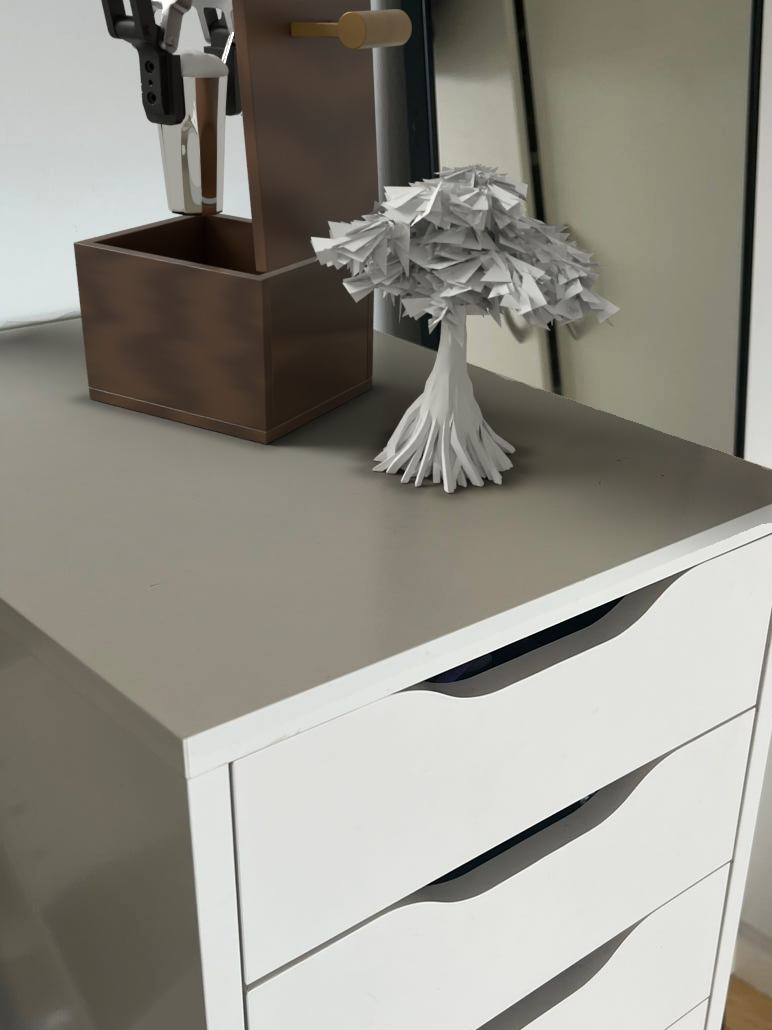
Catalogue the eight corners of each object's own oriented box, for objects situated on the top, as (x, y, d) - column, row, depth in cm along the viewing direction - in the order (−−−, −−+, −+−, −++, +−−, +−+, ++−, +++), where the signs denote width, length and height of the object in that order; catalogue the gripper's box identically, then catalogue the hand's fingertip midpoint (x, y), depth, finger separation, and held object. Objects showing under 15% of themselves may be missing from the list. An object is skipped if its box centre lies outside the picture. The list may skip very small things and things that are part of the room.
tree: (612, 525, 66) (652, 209, 58) (317, 528, 64) (315, 198, 55) (546, 409, 82) (570, 146, 73) (306, 408, 79) (303, 135, 71)
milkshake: (258, 214, 76) (254, 35, 71) (182, 221, 73) (172, 35, 68) (219, 200, 79) (211, 28, 74) (144, 207, 75) (131, 27, 70)
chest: (89, 399, 78) (73, 242, 73) (209, 350, 88) (202, 210, 83) (266, 444, 73) (261, 280, 68) (372, 388, 83) (375, 241, 78)
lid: (228, -23, 61) (323, -24, 59) (358, -24, 71) (443, -25, 69) (255, 271, 68) (341, 280, 66) (370, 233, 78) (447, 240, 76)
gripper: (203, -213, 71) (217, 101, 80) (23, -248, 60) (62, 123, 69) (312, -210, 69) (314, 115, 77) (145, -246, 57) (169, 140, 66)
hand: (195, 117), depth 73 cm, fingers closed on milkshake, 5 cm apart
